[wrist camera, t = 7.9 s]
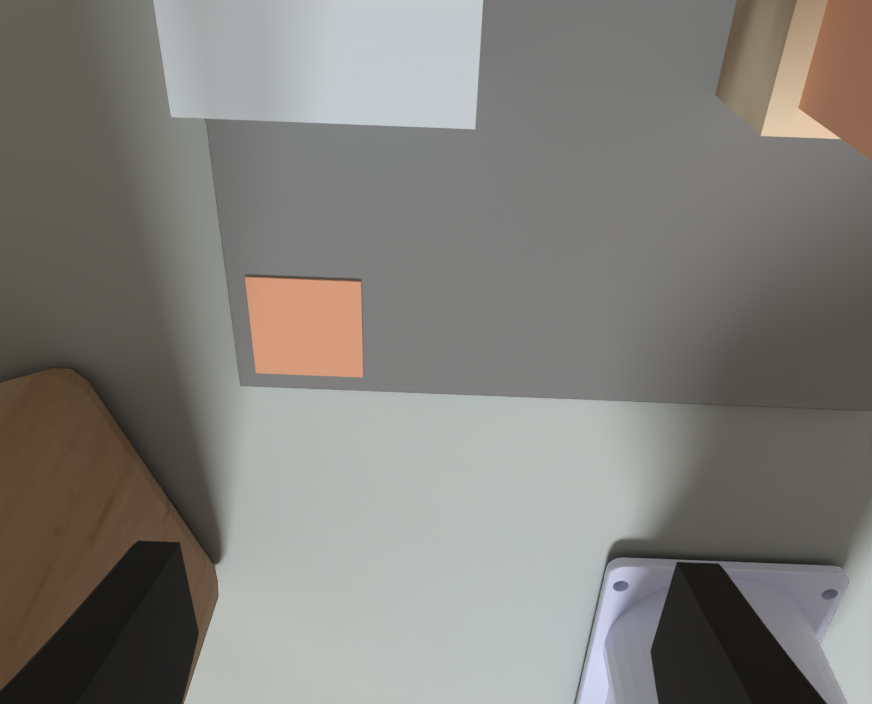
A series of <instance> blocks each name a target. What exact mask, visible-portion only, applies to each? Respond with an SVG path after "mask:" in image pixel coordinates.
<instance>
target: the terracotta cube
mask: <svg viewBox="0 0 872 704" xmlns="http://www.w3.org/2000/svg"><path fill="white" fill-rule="evenodd" d="M798 109H800V110H801V111H803V112H804V113H805V114H807V115H808V116H810V117H811V118H812V119H814V120H815V121H817V122H818V123H819V124H821V125H822V126H824V127H825V128H826V129H828V130H829V131H831V132H832V133H833V134H835V135H836V136H838V137H839V138H840V139H842V140H843V141H845V142H846V143H847V144H849V145H850V146H852V147H853V148H854V149H856V150H857V151H859V152H860V153H861V154H863V155H864V156H866V157H867V158H868V159H870V160H871V161H872V0H828V2H827V6H826V9H825V13H824V17H823V20H822V24H821V27H820V31H819V35H818V38H817V42H816V46H815V49H814V53H813V56H812V60H811V64H810V67H809V71H808V74H807V78H806V82H805V85H804V89H803V93H802V96H801V100H800V103H799V107H798Z"/></svg>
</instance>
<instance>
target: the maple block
mask: <svg viewBox="0 0 872 704" xmlns="http://www.w3.org/2000/svg"><path fill="white" fill-rule="evenodd" d="M827 2H828V0H737V2H736V6H735V10H734V15H733V19H732V24H731V28H730V32H729V37H728V41H727V46H726V50H725V54H724V59H723V63H722V68H721V72H720V76H719V81H718V85H717V90H716V94H715V96H716V97H718V98H719V99H720V100H721V101H722V102H723V103H724V104H725V105H727V106H728V107H729V108H730V109H731V110H732V111H733V112H734V113H735V114H737V115H738V116H739V117H740V118H741V119H742V120H743V121H744V122H746V123H747V124H748V125H749V126H750V127H751V128H752V129H753V130H755V131H756V132H757V133H758V134H759V135H760V136H774V137H799V138H825V139H840V138H839V137H838V136H836V135H835V134H833V133H832V132H831V131H829V130H828V129H826V128H825V127H824V126H822V125H821V124H819V123H818V122H817V121H815V120H814V119H812V118H811V117H810V116H808V115H807V114H805V113H804V112H803V111H801V110H800V109H798V107H799V103H800V100H801V96H802V93H803V89H804V85H805V82H806V78H807V74H808V71H809V67H810V64H811V60H812V56H813V53H814V49H815V46H816V42H817V38H818V35H819V31H820V27H821V24H822V20H823V17H824V13H825V9H826V6H827Z"/></svg>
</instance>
